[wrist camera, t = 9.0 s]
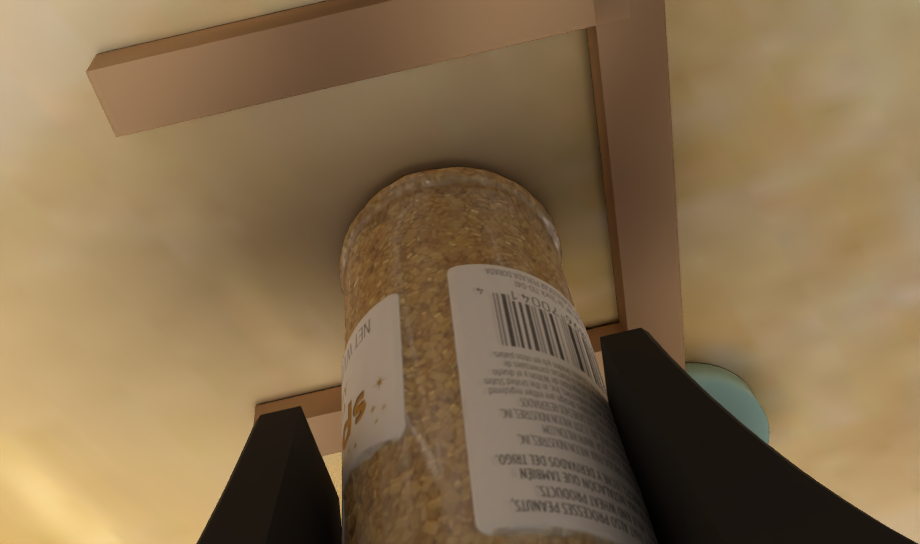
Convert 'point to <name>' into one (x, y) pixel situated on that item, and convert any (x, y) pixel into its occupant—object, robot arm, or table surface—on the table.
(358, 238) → the spice jar
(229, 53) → the u-shaped brown frame
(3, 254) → the table surface
